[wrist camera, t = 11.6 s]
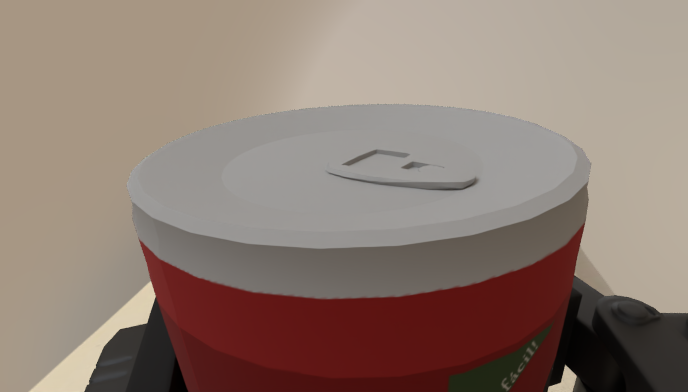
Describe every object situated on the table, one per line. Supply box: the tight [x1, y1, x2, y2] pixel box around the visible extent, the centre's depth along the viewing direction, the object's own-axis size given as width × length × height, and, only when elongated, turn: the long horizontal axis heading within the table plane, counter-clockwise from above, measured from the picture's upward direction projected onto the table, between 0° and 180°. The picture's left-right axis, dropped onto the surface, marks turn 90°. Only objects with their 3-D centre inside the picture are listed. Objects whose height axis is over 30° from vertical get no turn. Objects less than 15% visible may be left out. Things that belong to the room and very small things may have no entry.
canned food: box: [127, 104, 591, 392], centre depth 9 cm, size 8×8×11 cm
